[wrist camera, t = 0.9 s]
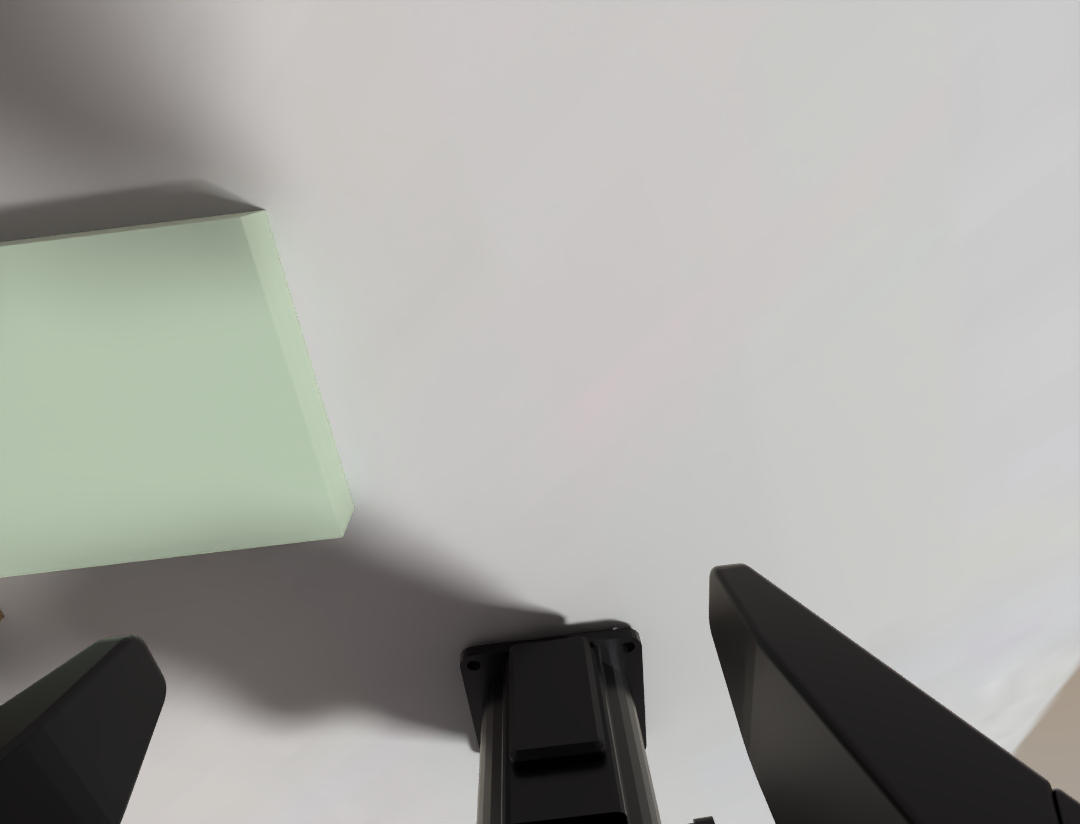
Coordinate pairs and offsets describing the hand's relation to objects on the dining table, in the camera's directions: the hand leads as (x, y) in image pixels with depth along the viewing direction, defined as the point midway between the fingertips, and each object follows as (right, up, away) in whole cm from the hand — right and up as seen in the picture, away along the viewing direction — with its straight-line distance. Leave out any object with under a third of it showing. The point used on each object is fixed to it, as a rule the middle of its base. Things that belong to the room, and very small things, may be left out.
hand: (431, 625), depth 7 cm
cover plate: (-10, +3, +9) cm, 14 cm away
